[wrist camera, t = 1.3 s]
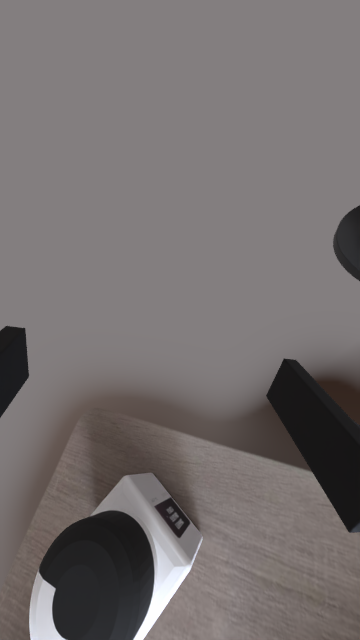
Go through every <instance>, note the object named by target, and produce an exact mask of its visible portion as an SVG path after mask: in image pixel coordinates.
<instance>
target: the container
mask: <svg viewBox="0 0 360 640" xmlns="http://www.w3.org/2000/svg"><path fill="white" fill-rule="evenodd" d="M201 542H202V535H201V533H200V532H199V530H198V529H197V528H196V527H195V525H194V524H193V523H192V522H191V520H190V519H189V518H188V517H187V515H186V514H185V513H184V512H183V510H182V509H181V508H180V507H179V505H178V504H177V503H176V502H175V500H174V499H173V498H172V497H171V495H170V494H169V493H168V492H167V490H166V489H165V488H164V487H163V485H162V484H161V483H160V482H159V481H158V479H157V478H156V477H155V476H154V474H153V473H142V474H134V475H126V476H124V477H123V478H122V479H121V480H120V481H119V482H118V484H117V485H116V486H115V487H114V488H113V489H112V491H111V492H110V493H109V494H108V495H107V497H106V498H105V499H104V500H103V501H102V502H101V504H100V505H99V506H98V507H97V508H96V510H95V511H94V512H93V513H92V514H91V515H90V517H87V518H85V519H82V520H79V521H77V522H75V523H73V524H72V525H70V526H69V527H68V528H66V529H65V530H64V531H63V532H62V533H61V534H60V535H59V536H58V537H57V538H56V539H55V540H54V542H53V543H52V545H51V546H50V548H49V549H48V551H47V553H46V554H45V556H44V558H43V560H42V562H41V565H40V567H39V569H38V572H37V575H36V578H35V582H34V585H33V589H32V595H31V601H30V612H29V628H30V638H31V640H143V639H144V637H145V636H146V634H147V633H148V631H149V630H150V629H151V627H152V626H153V624H154V623H155V621H156V620H157V618H158V617H159V615H160V614H161V612H162V611H163V609H164V608H165V606H166V605H167V603H168V602H169V600H170V599H171V598H172V596H173V595H174V593H175V592H176V590H177V589H178V587H179V586H180V584H181V583H182V581H183V580H184V578H185V577H186V575H187V574H188V572H189V571H190V569H191V567H192V564H193V562H194V559H195V557H196V554H197V552H198V549H199V547H200V544H201Z"/></svg>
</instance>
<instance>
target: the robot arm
mask: <svg viewBox="0 0 360 640" xmlns="http://www.w3.org/2000/svg"><path fill="white" fill-rule="evenodd" d="M28 377H29V373H28V359H27V347H26V334H25V328H18V327H10V326H6V327H5V328H3V329H2V330H1V331H0V417H1V416H2V414H3V413H4V412H5V410H6V409H7V407H8V406H9V404H10V403H11V402H12V400H13V399H14V397H15V396H16V394H17V393H18V391H19V390H20V389H21V387H22V386H23V384H24V383H25V381H26V380H27V379H28ZM266 396H267V398H268V400H269V401H270V403H271V404H272V406H273V408H274V409H275V411H276V413H277V414H278V416H279V417H280V419H281V421H282V423H283V424H284V426H285V427H286V429H287V431H288V433H289V434H290V436H291V437H292V439H293V441H294V442H295V444H296V446H297V447H298V449H299V451H300V452H301V454H302V456H303V457H304V459H305V461H306V462H307V464H308V465H309V467H310V468H311V470H312V472H313V474H314V475H315V477H316V479H317V480H318V482H319V484H320V485H321V487H322V489H323V490H324V492H325V494H326V495H327V497H328V498H329V500H330V502H331V503H332V505H333V507H334V508H335V510H336V512H337V513H338V515H339V517H340V518H341V520H342V522H343V523H344V525H345V526H346V528H347V530H348V531H349V533H351V532H360V425H358V424H357V423H356V422H354V421H353V420H352V419H351V418H350V417H348V415H347V414H346V413H345V412H344V411H343V410H342V409H341V408H340V407H339V405H338V404H337V403H336V402H335V401H334V400H333V399H332V398H331V397H330V396H329V395H328V394H327V393H326V392H325V391H324V389H323V388H321V386H320V385H319V384H318V383H317V382H316V381H315V380H314V379H313V378H312V377H311V376H310V374H309V373H308V372H307V371H306V370H305V369H304V368H303V367H302V366H301V365H300V364H299V363H298V362H297V361H296V360H291V359H284V360H283V362H282V364H281V366H280V368H279V370H278V372H277V374H276V377H275V379H274V381H273V383H272V385H271V387H270V389H269V391H268V393H267V395H266Z"/></svg>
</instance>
